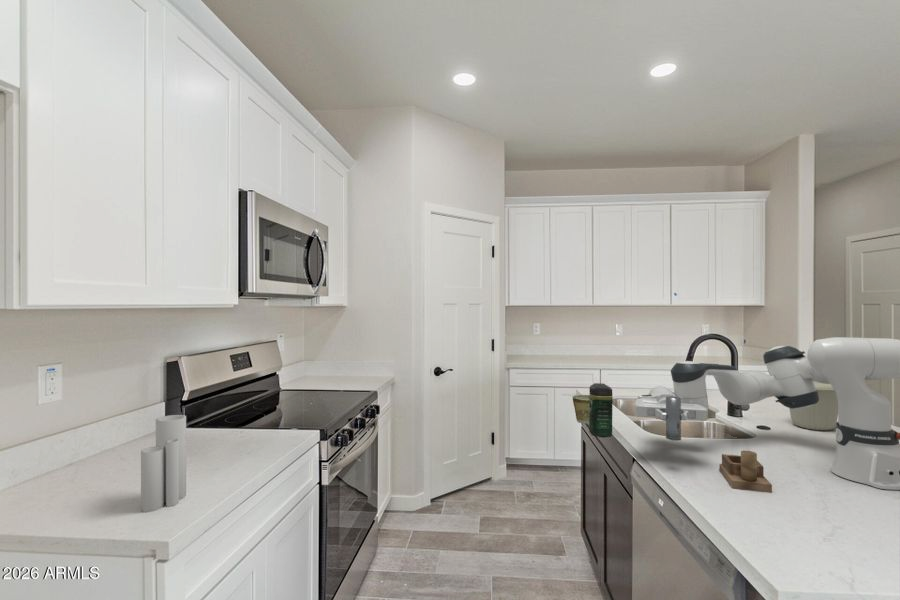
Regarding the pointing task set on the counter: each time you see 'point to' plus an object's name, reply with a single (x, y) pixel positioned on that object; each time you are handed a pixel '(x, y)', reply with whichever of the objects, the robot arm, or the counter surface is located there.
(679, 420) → the grey metal pin
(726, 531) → the counter surface
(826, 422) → the beige round tub
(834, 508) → the counter surface
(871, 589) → the counter surface
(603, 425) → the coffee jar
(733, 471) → the walnut housing
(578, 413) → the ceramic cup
